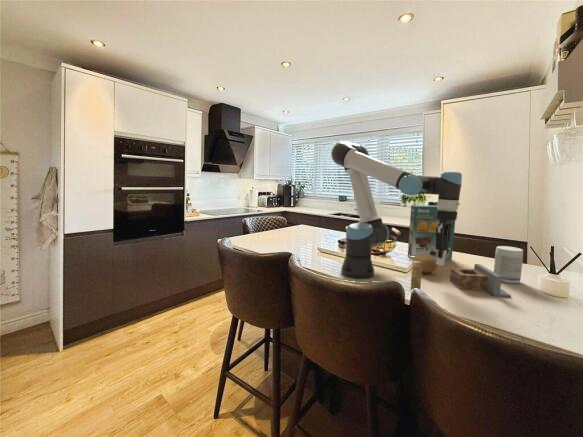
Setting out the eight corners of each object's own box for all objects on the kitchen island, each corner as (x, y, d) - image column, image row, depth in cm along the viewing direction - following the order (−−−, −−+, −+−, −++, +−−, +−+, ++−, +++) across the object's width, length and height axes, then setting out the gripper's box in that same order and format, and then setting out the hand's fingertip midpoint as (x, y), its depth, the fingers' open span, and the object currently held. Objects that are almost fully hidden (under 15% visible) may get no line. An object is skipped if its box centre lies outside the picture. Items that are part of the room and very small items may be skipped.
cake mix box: (446, 257, 159) (451, 205, 155) (451, 260, 153) (456, 206, 149) (407, 256, 161) (411, 205, 157) (411, 258, 155) (414, 206, 151)
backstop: (493, 296, 105) (495, 276, 104) (472, 281, 120) (474, 263, 119) (510, 297, 104) (513, 277, 103) (487, 282, 120) (489, 264, 118)
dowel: (411, 292, 108) (414, 263, 106) (409, 289, 111) (411, 260, 109) (421, 293, 107) (423, 263, 105) (418, 289, 110) (420, 261, 109)
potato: (425, 267, 140) (426, 252, 139) (441, 276, 126) (443, 259, 125) (406, 267, 140) (407, 252, 138) (421, 276, 126) (422, 260, 125)
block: (459, 289, 112) (460, 274, 111) (449, 281, 120) (451, 268, 120) (485, 290, 110) (487, 276, 109) (474, 282, 119) (475, 269, 118)
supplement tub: (525, 283, 119) (530, 250, 116) (508, 285, 116) (512, 251, 114) (503, 275, 128) (507, 245, 126) (487, 277, 126) (490, 246, 124)
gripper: (451, 212, 105) (443, 270, 109) (462, 210, 114) (455, 264, 118) (431, 209, 111) (424, 265, 115) (443, 207, 120) (436, 259, 123)
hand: (440, 264), depth 116 cm, fingers closed
